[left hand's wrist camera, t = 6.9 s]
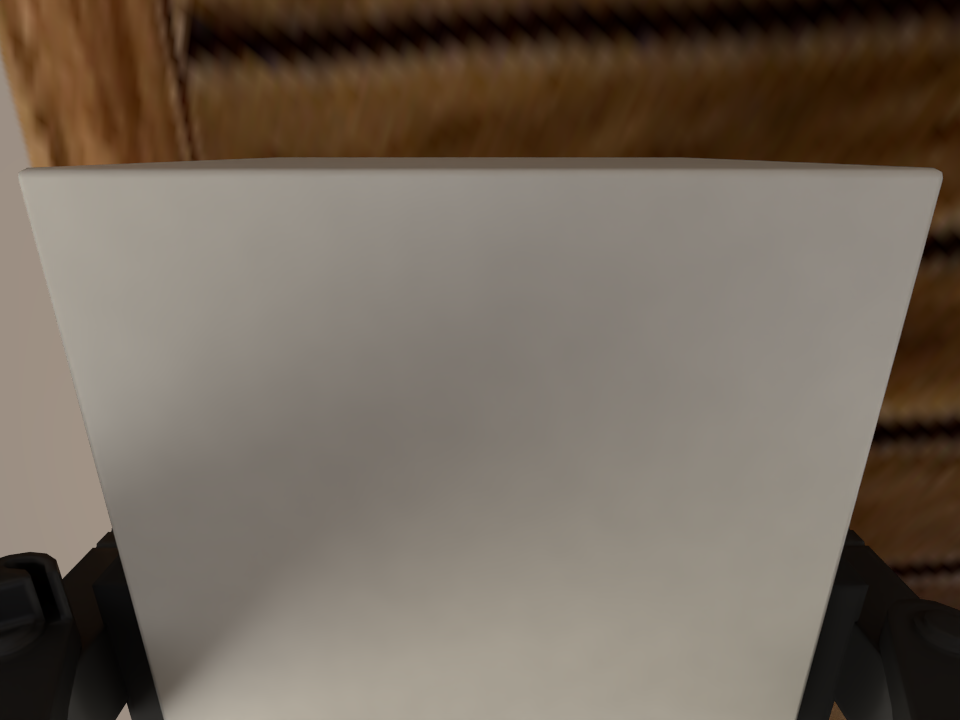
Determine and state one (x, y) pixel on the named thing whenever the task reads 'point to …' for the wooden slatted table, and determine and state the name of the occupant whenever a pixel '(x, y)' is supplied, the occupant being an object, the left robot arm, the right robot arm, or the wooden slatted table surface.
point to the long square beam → (480, 422)
